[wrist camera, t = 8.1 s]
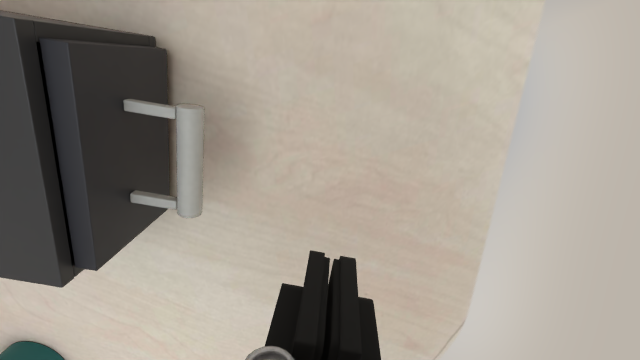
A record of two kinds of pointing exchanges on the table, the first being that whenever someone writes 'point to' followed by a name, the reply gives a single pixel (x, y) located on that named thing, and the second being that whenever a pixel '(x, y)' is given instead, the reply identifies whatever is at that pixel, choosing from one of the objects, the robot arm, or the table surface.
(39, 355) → the bracket
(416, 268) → the table surface
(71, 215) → the drawer
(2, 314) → the table surface
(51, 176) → the drawer cabinet
